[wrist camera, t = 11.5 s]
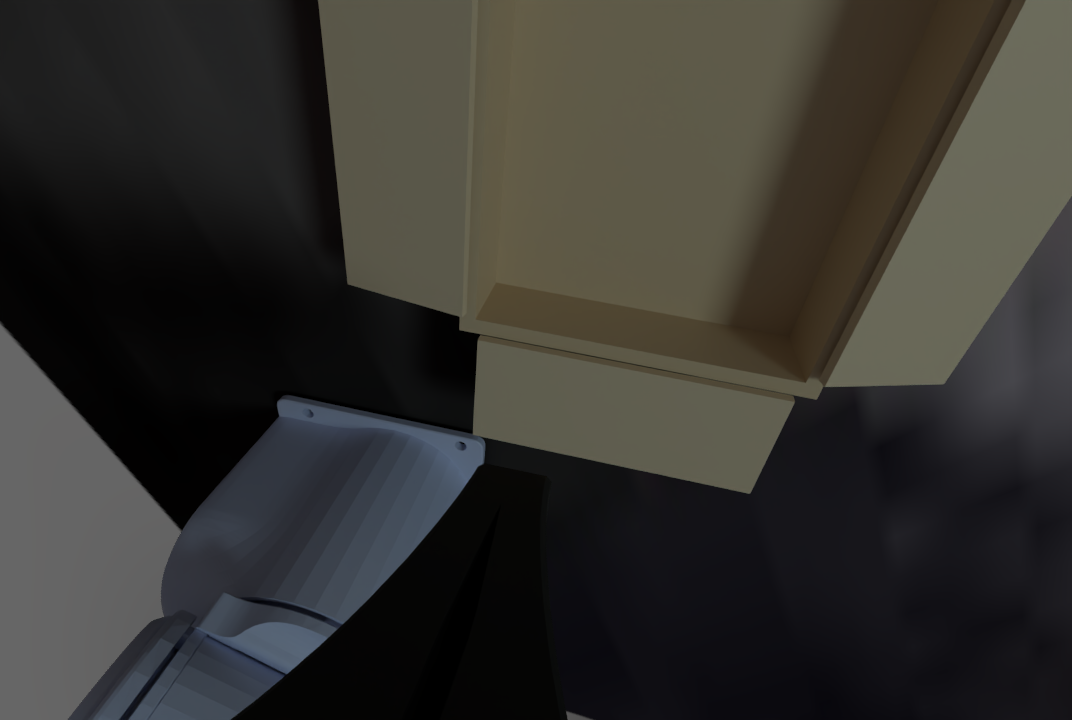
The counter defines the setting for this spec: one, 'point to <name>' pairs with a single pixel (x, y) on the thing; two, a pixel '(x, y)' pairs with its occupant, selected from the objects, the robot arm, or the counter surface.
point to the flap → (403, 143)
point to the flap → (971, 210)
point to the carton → (690, 210)
